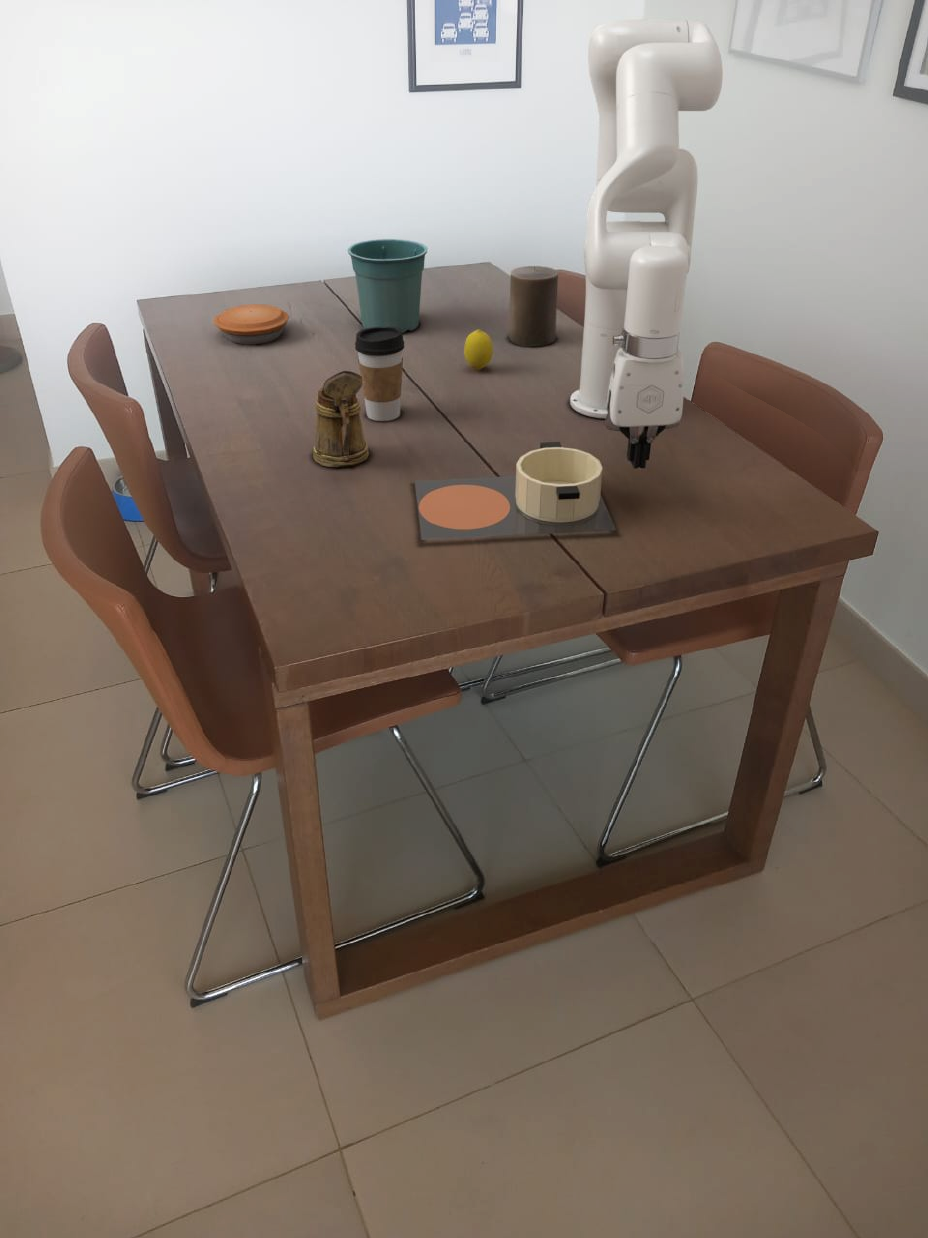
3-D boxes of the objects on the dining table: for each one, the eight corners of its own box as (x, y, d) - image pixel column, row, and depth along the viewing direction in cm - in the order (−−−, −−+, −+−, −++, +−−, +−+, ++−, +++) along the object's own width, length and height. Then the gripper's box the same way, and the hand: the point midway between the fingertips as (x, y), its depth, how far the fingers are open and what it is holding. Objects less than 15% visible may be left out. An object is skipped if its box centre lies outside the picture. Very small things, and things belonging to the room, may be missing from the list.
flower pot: (385, 307, 224) (382, 233, 214) (444, 322, 216) (443, 245, 207) (337, 328, 213) (331, 251, 204) (396, 344, 205) (393, 264, 196)
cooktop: (590, 476, 158) (591, 471, 157) (615, 534, 143) (616, 529, 143) (414, 484, 156) (414, 480, 155) (421, 544, 141) (421, 539, 141)
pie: (306, 330, 212) (303, 307, 209) (256, 353, 201) (253, 329, 198) (251, 317, 219) (248, 295, 216) (200, 339, 208) (197, 315, 205)
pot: (587, 474, 157) (590, 439, 153) (609, 527, 143) (613, 490, 140) (509, 478, 156) (510, 443, 152) (524, 531, 142) (525, 494, 139)
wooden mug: (324, 484, 156) (313, 374, 145) (309, 447, 166) (298, 342, 156) (379, 476, 158) (373, 367, 147) (361, 441, 168) (354, 336, 158)
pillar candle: (541, 350, 202) (544, 275, 194) (500, 341, 207) (501, 267, 198) (563, 335, 209) (567, 263, 200) (523, 327, 213) (525, 255, 205)
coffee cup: (400, 426, 173) (397, 342, 164) (353, 422, 174) (347, 338, 166) (412, 406, 180) (409, 324, 171) (367, 403, 181) (362, 321, 172)
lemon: (459, 372, 193) (459, 332, 188) (470, 363, 197) (470, 323, 192) (486, 377, 191) (486, 336, 186) (496, 366, 195) (497, 326, 191)
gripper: (602, 354, 133) (592, 478, 143) (711, 350, 134) (694, 473, 144) (591, 335, 139) (582, 455, 149) (695, 331, 140) (679, 451, 150)
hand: (637, 464), depth 147 cm, fingers closed
